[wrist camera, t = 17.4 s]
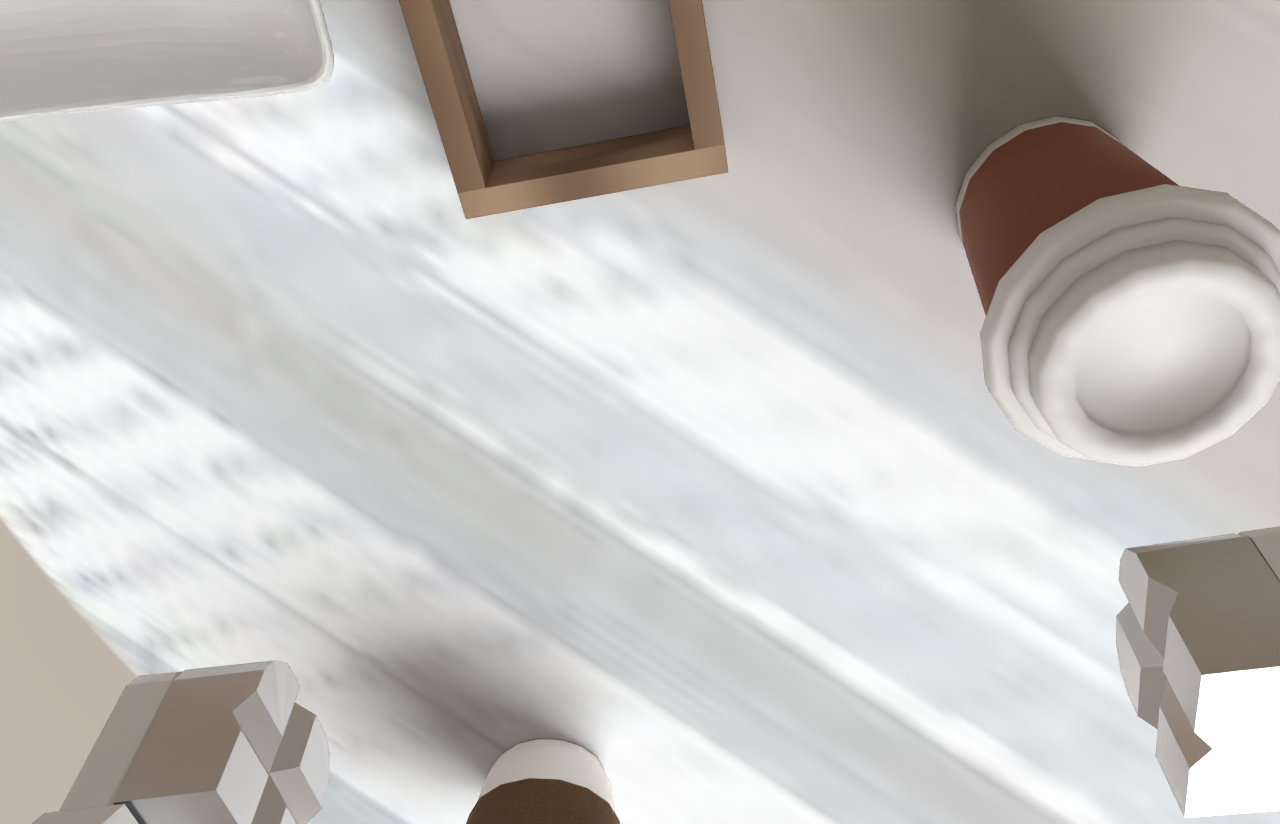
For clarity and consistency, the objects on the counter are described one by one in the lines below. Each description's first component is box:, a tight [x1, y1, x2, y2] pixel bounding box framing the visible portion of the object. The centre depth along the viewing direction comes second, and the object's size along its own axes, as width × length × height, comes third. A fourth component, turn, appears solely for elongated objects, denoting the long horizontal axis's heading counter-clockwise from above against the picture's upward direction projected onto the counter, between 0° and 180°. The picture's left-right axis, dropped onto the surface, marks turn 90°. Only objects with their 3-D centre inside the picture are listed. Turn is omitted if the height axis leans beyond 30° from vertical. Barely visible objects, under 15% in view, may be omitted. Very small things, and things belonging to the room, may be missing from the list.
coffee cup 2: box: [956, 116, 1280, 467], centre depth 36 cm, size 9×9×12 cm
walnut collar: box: [399, 0, 728, 219], centre depth 37 cm, size 9×9×2 cm
